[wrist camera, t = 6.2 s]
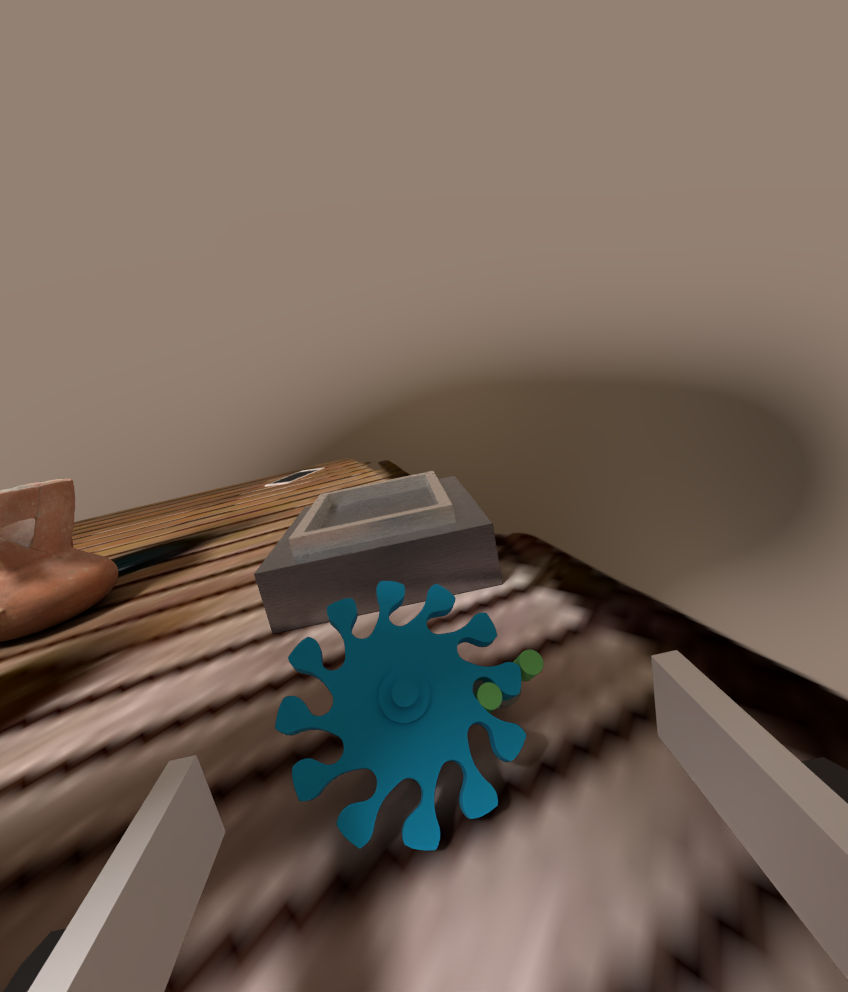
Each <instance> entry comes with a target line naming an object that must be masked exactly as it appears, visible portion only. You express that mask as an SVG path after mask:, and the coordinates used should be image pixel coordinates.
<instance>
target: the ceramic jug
mask: <svg viewBox="0 0 848 992" xmlns="http://www.w3.org/2000/svg"><path fill="white" fill-rule="evenodd" d="M74 511H75V493H74V485H73V481H72V479H57V480H52V481H46V482H37V483H31V484H26V485H21V486H17V487H15V488H11V489H5V490H0V642H3V641H8V640H13V639H17V638H21V637H24V636H28V635H31V634H34V633H37V632H40V631H43V630H46V629H48V628H51V627H53V626H55V625H58V624H60V623H62V622H65V621H67V620H69V619H71V618H73V617H75V616H77V615H79V614H80V613H82V612H84V611H86V610H87V609H89V608H90V607H92V606H93V605H95V604H96V603H98V602H99V601H100V600H101V599H103V598H104V597H105V596H106V595H107V594H108V593H109V592H110V591H111V590H112V588H113V587H114V586H115V584H116V582H117V579H118V568H117V566H116V565H115V563H114V562H113V561H111V560H110V559H108V558H106V557H103V556H100V555H97V554H92V553H88V552H84V551H81V550H78V549H75V548H73V541H72V532H73V525H74Z"/></svg>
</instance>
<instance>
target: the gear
mask: <svg viewBox="0 0 848 992" xmlns="http://www.w3.org/2000/svg"><path fill="white" fill-rule="evenodd" d="M376 593H377V602H378V604H379V609H380V613H379V618H378V621H377V624H376V626H375V628H374V631H373V632H372V634H371V635H370V636H369V637H367V638H365V639H358V638H356V637H355V636H353V634H352V629H353V626H354V624H355V622H356V620H357V616H358V614H357V607H356V603H355V601H354V600H353V599H352V598H346V599H342V600H339V601H337V602H334V603H332V604H330V605H328V606H327V615H328V618H329V621H330V623H331V625H332V626H333V627H334V628H335V629H337V631H338V632H339V633H340V634H341V636H342V638H343V640H344V644H345V662H344V664H343V665H342V666H341V667H340V668H339V669H337V670H333V671H331V670H327V669H325V668H324V667H323V659H322V651H321V649H320V646H319V644H318V643H317V641H316V640H314V639H313V638H310V637H307V638H305V639H304V640H302V641H301V642H300V643H299V644H298V645H297V646H296V647H295V649H294V650H293V651H292V653H291V654H290V655H289V657H288V659H289V662H290V663H291V665H292V666H293V668H294V669H295V670H296V671H297V672H300V673H303V674H309V675H311V676H314V677H316V678H317V679H319V680H320V681H322V682H323V683H324V684H325V685H326V687H327V688H328V689H329V691H330V692H331V694H332V695H333V705H332V708H331V709H330V711H329V712H328V713H326V714H325V715H323V716H315V715H313V714H311V712H310V710H309V709H308V707H307V706H306V704H305V703H304V702H303V701H302V700H301V699H300V698H298V697H296V696H287V697H284V699H283V701H282V702H281V704H280V707H279V710H278V714H277V718H276V725H275V729H277V730H278V731H279V732H281V733H283V734H285V735H295V734H298V733H300V732H303V731H307V730H322V731H326V732H329V733H331V734H334V735H336V736H338V737H340V738H341V739H342V741H343V744H344V751H343V754H342V757H341V758H340V759H339V760H338V761H337V762H336V763H334V764H331V765H326V764H323V763H321V762H319V761H316V760H314V759H310V758H306V759H302V760H300V761H298V762H297V763H296V764H295V765H294V766H293V767H292V778H293V784H294V788H295V791H296V794H297V796H298V799H299V801H309V800H313V799H315V798H316V797H318V796H319V795H320V794H321V792H322V791H323V790H324V788H325V787H326V786H327V785H328V784H329V783H330V782H331V781H332V780H334V779H335V778H337V777H338V776H340V775H342V774H344V773H346V772H350V771H354V770H359V769H369V770H371V771H372V772H373V773H374V774H375V776H376V779H377V788H376V791H375V793H374V795H373V796H372V797H371V798H370V799H368V800H366V801H362V802H357V803H353V804H350V805H348V806H347V807H345V808H344V809H343V810H342V812H341V813H340V815H339V817H338V819H337V823H336V824H337V826H338V828H339V830H340V832H341V833H342V834H343V836H344V837H345V838H346V839H347V840H349V841H350V842H351V843H352V844H354V845H355V846H356V847H358V848H359V849H360V848H362V847H363V846H365V845H366V844H367V843H368V841H369V840H370V838H371V836H372V833H373V830H374V825H375V819H376V816H377V813H378V810H379V808H380V806H381V804H382V802H383V800H384V799H385V797H386V796H387V795H388V794H389V792H390V791H391V790H392V789H393V788H394V787H395V786H396V785H397V784H398V783H399V782H400V781H402V780H403V779H407V778H410V779H413V780H415V781H416V782H417V783H418V784H419V785H420V788H421V791H422V798H421V801H420V803H419V805H418V806H417V808H416V809H415V810H414V811H413V812H412V813H411V814H410V815H409V816H408V817H407V818H406V820H405V822H404V824H403V828H402V838H403V842H404V844H405V845H407V846H408V847H410V848H413V849H417V850H436V849H437V847H438V845H439V841H440V827H439V824H438V821H437V819H436V814H435V809H434V793H435V786H436V782H437V778H438V775H439V772H440V769H441V767H442V765H443V764H444V763H445V762H447V761H453V762H456V763H457V764H458V765H459V766H460V767H461V769H462V771H463V778H464V779H463V784H462V787H461V791H460V795H459V803H460V808H461V810H462V812H463V814H464V815H465V816H466V817H467V818H469V819H474V818H479V817H481V816H484V815H485V814H487V813H488V812H490V811H491V810H493V809H494V808H495V807H496V806H498V798H497V794H496V791H495V789H494V788H493V787H492V785H491V784H490V783H489V782H487V781H486V780H485V779H484V778H483V776H482V775H481V774H480V773H479V771H478V770H477V768H476V766H475V764H474V762H473V759H472V757H471V753H470V749H469V744H468V739H467V732H468V729H469V727H470V725H472V724H479V725H481V726H483V727H484V728H485V729H486V730H487V732H488V735H489V739H490V744H491V748H492V751H493V753H494V754H495V755H496V757H497V758H499V759H500V760H502V761H504V762H510V761H512V760H514V759H515V758H516V757H517V755H518V754H519V752H520V750H521V748H522V746H523V744H524V741H525V739H526V734H525V732H524V730H523V729H522V728H521V727H520V726H518V725H517V724H514V723H509V722H505V721H502V720H499V719H497V718H496V717H494V716H492V715H491V714H490V713H491V712H492V711H494V710H496V709H502V708H506V707H509V706H510V705H512V704H513V703H515V702H516V701H517V700H518V698H519V696H520V693H521V681H529V680H530V679H532V678H533V677H534V676H536V675H537V674H538V673H540V672H541V670H542V668H543V659H542V657H541V656H540V654H539V653H538V652H536V651H534V650H530V649H529V650H525V651H523V652H522V653H521V654H520V655H519V656H518V657H517V658H516V659H515V660H514V662H505V663H503V664H501V665H497V666H493V667H484V666H479V665H475V664H472V663H470V662H467V661H465V660H463V659H462V658H461V657H460V656H459V655H458V652H457V645H458V644H460V643H463V642H467V643H470V644H473V645H475V646H478V647H487V646H489V645H490V644H492V642H493V641H494V640H495V638H496V637H497V633H496V629H495V626H494V624H493V623H492V621H491V619H490V618H489V616H488V615H487V613H478V614H476V615H475V616H474V617H473V618H472V619H471V620H470V622H469V623H468V624H467V625H466V626H464V627H463V628H461V629H459V630H457V631H455V632H451V633H445V634H434V633H432V632H431V631H430V630H429V629H428V627H427V624H426V623H427V621H428V620H429V619H431V618H434V617H440V616H445V615H447V614H448V613H450V611H451V610H452V608H453V605H454V602H455V597H454V595H453V594H452V593H451V592H450V591H448V590H447V589H445V588H444V587H442V586H440V585H438V584H434V585H433V586H431V587H430V589H429V590H428V593H427V597H426V602H425V605H424V607H423V609H422V610H421V612H420V613H419V614H418V615H417V616H416V617H415V618H414V619H413V620H412V621H410V622H409V623H408V624H406V625H404V626H396V625H394V624H392V623H391V622H390V620H389V616H390V614H391V613H392V612H393V611H395V610H396V609H397V608H399V607H400V606H401V605H402V603H403V601H404V596H405V587H404V585H403V584H401V583H398V582H394V581H380V582H379V583H378V586H377V589H376Z"/></svg>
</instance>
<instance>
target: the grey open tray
mask: <svg viewBox="0 0 848 992" xmlns="http://www.w3.org/2000/svg"><path fill="white" fill-rule="evenodd" d="M254 575H255V578H256V581H257V585H258V588H259V591H260V594H261V598H262V601H263V604H264V607H265V611H266V614H267V617H268V620H269V624H270V627H271V630H272V633H273V634H274V633H279V632H283V631H288V630H292V629H297V628H302V627H306V626H311V625H316V624H320V623H325V622H329V618H328V615H327V606H328V605H330V604H332V603H334V602H337V601H339V600H342V599H346V598H352V599H353V600H354V601H355V603H356V607H357V614H358V615H362V614H366V613H371V612H376V611H380V609H379V604H378V602H377V593H376V589H377V586H378V583H379V582H380V581H394V582H398V583H401V584H403V585H404V587H405V596H404V601H403V603H402V605H401V606H403V605H408V604H412V603H417V602H422V601H426V597H427V593H428V590H429V589H430V587H431V586H433V585H434V584H438V585H440V586H442V587H444V588H445V589H447V590H448V591H450V592H451V593H452V594H453V595H454V594H459V593H463V592H468V591H472V590H477V589H482V588H486V587H491V586H496V585H500V584H503V583H502V577H501V571H500V565H499V559H498V553H497V547H496V541H495V535H494V529H493V523H492V522H491V521H490V520H489V518H488V517H487V516H486V515H485V513H484V512H483V511H482V510H481V508H480V507H479V506H478V505H477V503H476V502H475V501H474V500H473V498H472V497H471V496H470V495H469V493H468V492H467V491H466V490H465V488H464V487H463V486H462V485H461V483H460V482H459V481H458V480H457V478H455V476H452V477H447V478H442V479H438V478H437V477H436V475H435V473H434V472H433V471H430V472H425V473H420V474H416V475H411V476H406V477H401V478H396V479H391V480H387V481H382V482H377V483H372V484H367V485H362V486H358V487H353V488H348V489H343V490H338V491H334V492H329V493H324V494H320V495H319V497H318V498H317V499H316V501H315V502H314V504H313V505H312V506H308V507H305V508H304V509H303V510H302V512H301V513H300V514H299V516H298V517H297V518H296V520H295V521H294V522H293V524H292V525H291V526H290V527H289V529H288V530H287V531H286V533H285V534H284V535H283V537H282V538H281V539H280V541H279V542H278V543H277V545H276V546H275V547H274V548H273V550H272V551H271V552H270V554H269V555H268V556H267V558H266V559H265V560H264V562H263V563H262V564H261V566H260V567H259V568H258V569H257V571H256V572H255V573H254Z"/></svg>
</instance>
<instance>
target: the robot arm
mask: <svg viewBox="0 0 848 992" xmlns="http://www.w3.org/2000/svg"><path fill="white" fill-rule="evenodd" d="M651 662H652V674H653V685H654V697H655V708H656V720H657V732H658V736H659V738H660V739H661V740H662V742H663V743H664V744H665V746H666V747H667V748H668V749H669V751H670V752H671V753H672V755H673V756H674V757H675V758H676V760H677V761H678V762H679V764H680V765H681V766H682V767H683V769H684V770H685V771H686V773H687V774H688V775H689V776H690V778H691V779H692V780H693V782H694V783H695V784H696V785H697V787H698V788H699V789H700V791H701V792H702V793H703V794H704V796H705V797H706V798H707V800H708V801H709V802H710V804H711V805H712V806H713V807H714V809H715V810H716V811H717V813H718V814H719V815H720V816H721V818H722V819H723V820H724V822H725V823H726V824H727V825H728V827H729V828H730V829H731V831H732V832H733V833H734V834H735V836H736V837H737V838H738V840H739V841H740V842H741V843H742V845H743V846H744V847H745V849H746V850H747V851H748V852H749V854H750V855H751V856H752V858H753V859H754V860H755V862H756V863H757V864H758V865H759V867H760V868H761V869H762V871H763V872H764V873H765V874H766V876H767V877H768V878H769V880H770V881H771V882H772V883H773V885H774V886H775V887H776V889H777V890H778V891H779V892H780V894H781V895H782V896H783V898H784V899H785V900H786V901H787V903H788V904H789V905H790V907H791V908H792V909H793V910H794V912H795V913H796V914H797V916H798V917H799V918H800V920H801V921H802V922H803V923H804V925H805V926H806V927H807V929H808V930H809V931H810V932H811V934H812V935H813V936H814V938H815V939H816V940H817V941H818V943H819V944H820V945H821V947H822V948H823V949H824V950H825V952H826V953H827V954H828V956H829V957H830V958H831V959H832V961H833V962H834V963H835V965H836V966H837V967H838V968H839V970H840V971H841V972H842V974H843V975H844V976H845V978H846V979H847V980H848V770H847V769H845V768H843V767H841V766H839V765H837V764H835V763H834V762H832V761H830V760H828V759H826V758H824V757H820V758H816V759H811V760H807V761H802V762H801V761H800V760H798V759H797V758H796V757H795V756H794V755H793V754H792V753H791V752H790V751H788V750H787V749H786V748H785V747H784V746H783V745H782V744H781V743H780V742H778V741H777V740H776V739H775V738H774V737H773V736H772V735H771V734H770V733H768V732H767V731H766V730H765V729H764V728H763V727H762V726H761V725H760V724H758V723H757V722H756V721H755V720H754V719H753V718H752V717H751V716H750V715H748V714H747V713H746V712H745V711H744V710H743V709H742V708H741V707H740V706H738V705H737V704H736V703H735V702H734V701H733V700H732V699H731V698H730V697H728V696H727V695H726V694H725V693H724V692H723V691H722V690H721V689H720V688H718V687H717V686H716V685H715V684H714V683H713V682H712V681H711V680H710V679H708V678H707V677H706V676H705V675H704V674H703V673H702V672H701V671H700V670H698V669H697V668H696V667H695V666H694V665H693V664H692V663H691V662H690V661H688V660H687V659H686V658H685V657H684V656H683V655H682V654H681V653H680V652H678V651H677V650H675V651H670V652H666V653H661V654H656V655H652V656H651ZM225 832H226V831H225V829H224V826H223V823H222V821H221V818H220V815H219V813H218V810H217V808H216V805H215V802H214V800H213V797H212V794H211V792H210V789H209V787H208V784H207V781H206V779H205V776H204V773H203V771H202V768H201V766H200V763H199V760H198V758H197V755H193V756H189V757H184V758H179V759H175V760H170V761H169V762H168V764H167V765H166V767H165V768H164V770H163V772H162V773H161V775H160V777H159V778H158V780H157V781H156V783H155V785H154V786H153V788H152V790H151V791H150V793H149V795H148V796H147V798H146V799H145V801H144V803H143V804H142V806H141V808H140V809H139V811H138V812H137V814H136V816H135V817H134V819H133V821H132V822H131V824H130V826H129V827H128V829H127V830H126V832H125V834H124V835H123V837H122V839H121V840H120V842H119V843H118V845H117V847H116V848H115V850H114V852H113V853H112V855H111V857H110V858H109V860H108V861H107V863H106V865H105V866H104V868H103V870H102V871H101V873H100V874H99V876H98V878H97V879H96V881H95V883H94V884H93V886H92V887H91V889H90V891H89V892H88V894H87V896H86V897H85V899H84V901H83V902H82V904H81V905H80V907H79V909H78V910H77V912H76V914H75V915H74V917H73V918H72V920H71V922H70V923H69V925H68V927H67V928H66V929H62V930H58V931H54V932H51V933H50V934H49V935H48V936H47V937H46V938H45V939H44V940H43V941H42V942H41V944H40V945H39V946H38V947H37V948H36V949H35V950H34V951H33V952H32V954H31V955H30V956H29V957H28V958H27V959H26V960H25V961H24V962H23V963H22V965H21V966H20V967H19V969H18V970H17V972H16V973H15V975H14V976H13V978H12V980H11V981H10V983H9V984H8V986H7V987H6V989H5V990H4V992H164V991H165V988H166V985H167V983H168V980H169V978H170V975H171V972H172V970H173V967H174V965H175V962H176V959H177V957H178V954H179V952H180V949H181V946H182V944H183V941H184V939H185V936H186V933H187V931H188V928H189V926H190V923H191V920H192V918H193V915H194V913H195V910H196V907H197V905H198V902H199V900H200V897H201V894H202V892H203V889H204V887H205V884H206V881H207V879H208V876H209V874H210V871H211V868H212V866H213V863H214V861H215V858H216V855H217V853H218V850H219V848H220V845H221V842H222V840H223V837H224V835H225Z"/></svg>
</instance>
